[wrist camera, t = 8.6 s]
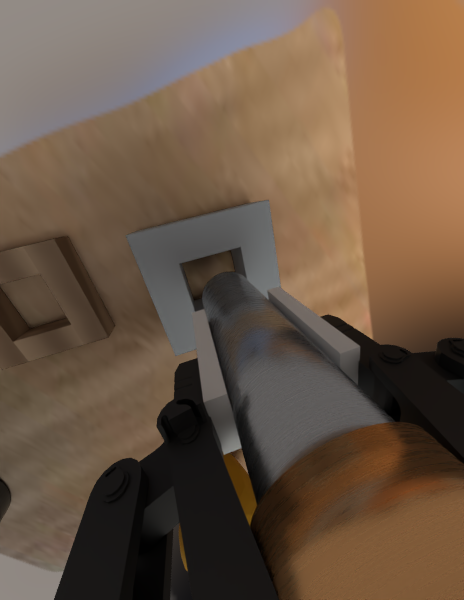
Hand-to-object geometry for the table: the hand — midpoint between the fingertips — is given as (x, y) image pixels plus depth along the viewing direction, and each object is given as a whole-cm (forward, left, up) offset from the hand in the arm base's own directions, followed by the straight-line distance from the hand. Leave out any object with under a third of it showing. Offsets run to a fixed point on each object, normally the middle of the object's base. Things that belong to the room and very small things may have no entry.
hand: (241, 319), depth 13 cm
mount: (-17, +2, -12) cm, 21 cm away
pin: (0, 0, -4) cm, 4 cm away
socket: (0, 0, -12) cm, 12 cm away
